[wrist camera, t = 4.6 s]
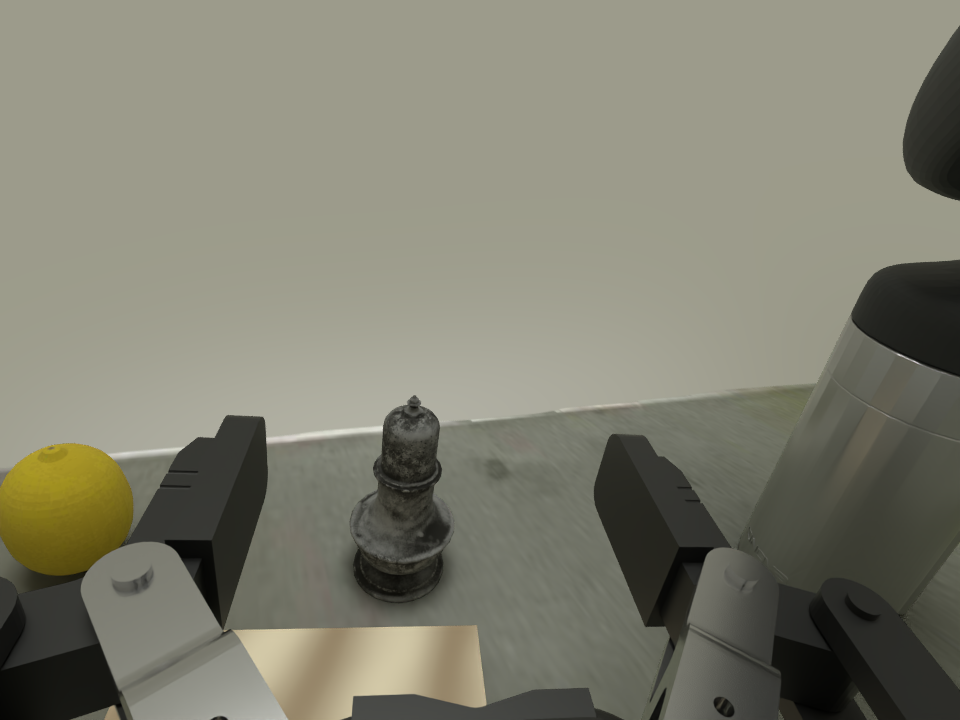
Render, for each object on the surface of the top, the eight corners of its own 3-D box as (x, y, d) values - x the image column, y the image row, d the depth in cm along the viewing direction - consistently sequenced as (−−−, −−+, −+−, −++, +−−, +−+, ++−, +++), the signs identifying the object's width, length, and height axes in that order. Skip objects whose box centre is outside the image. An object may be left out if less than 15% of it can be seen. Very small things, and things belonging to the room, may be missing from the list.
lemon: (162, 531, 33) (141, 421, 29) (106, 613, 28) (72, 494, 24) (66, 522, 33) (32, 409, 29) (-8, 603, 28) (-60, 480, 24)
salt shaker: (351, 527, 35) (356, 363, 29) (443, 527, 36) (466, 368, 31) (344, 609, 30) (350, 429, 24) (452, 605, 31) (481, 432, 26)
